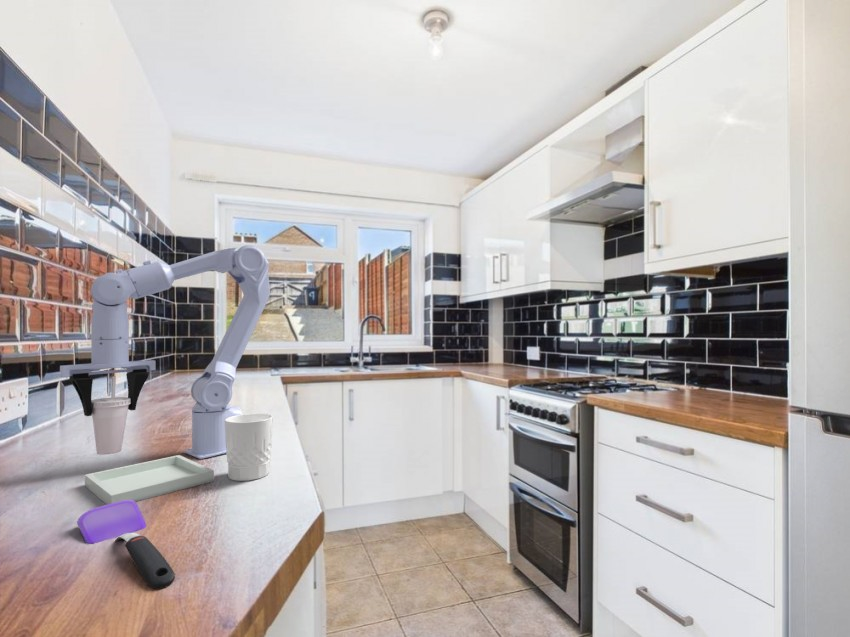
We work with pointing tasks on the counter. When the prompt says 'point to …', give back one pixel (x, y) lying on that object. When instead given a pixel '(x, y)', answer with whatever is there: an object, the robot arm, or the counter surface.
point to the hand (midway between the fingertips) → (110, 412)
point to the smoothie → (109, 422)
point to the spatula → (127, 538)
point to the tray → (147, 479)
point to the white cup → (248, 446)
